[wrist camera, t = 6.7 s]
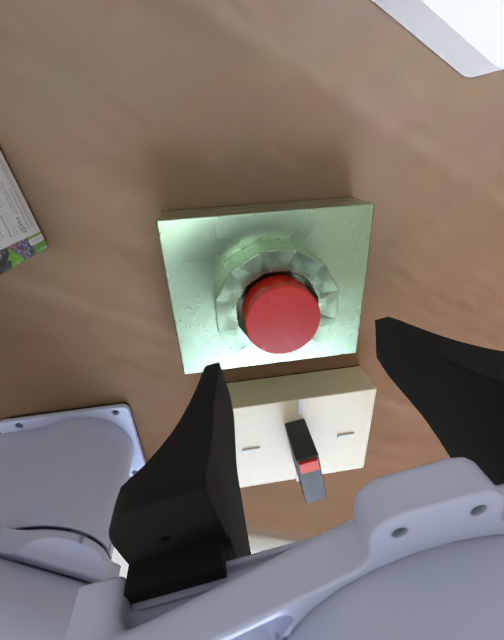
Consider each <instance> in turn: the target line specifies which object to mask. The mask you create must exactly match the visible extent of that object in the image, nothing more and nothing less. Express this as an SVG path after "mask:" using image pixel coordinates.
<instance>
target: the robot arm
mask: <svg viewBox="0 0 504 640" xmlns="http://www.w3.org/2000/svg"><path fill="white" fill-rule="evenodd" d="M375 326H376V353H377V358H378V360H379V362H380V363H381V365H382V367H383V368H384V370H385V371H386V373H387V374H388V376H389V377H390V378H391V379H392V380H393V382H394V383H395V384H396V385H397V386H398V387H399V389H400V390H401V391H402V392H403V393H404V394H405V396H406V397H407V398H408V399H409V400H410V401H411V403H412V404H413V405H414V406H415V407H416V408H417V410H418V411H419V412H420V413H421V415H422V416H423V417H424V418H425V420H426V421H427V423H428V424H429V426H430V427H431V428H432V430H433V431H434V433H435V434H436V436H437V437H438V439H439V440H440V442H441V443H442V445H443V446H444V448H445V450H446V451H447V453H448V454H449V456H450V457H451V458H447V459H443V460H439V461H436V462H432V463H429V464H425V465H422V466H418V467H414V468H411V469H407V470H404V471H400V472H396V473H393V474H389V475H386V476H382V477H379V478H377V479H375V480H373V481H371V482H368V483H367V484H366V485H365V486H364V487H362V488H361V489H360V490H359V491H358V492H357V494H356V498H355V501H354V504H353V507H354V518H352V519H350V520H348V521H346V522H344V523H342V524H340V525H338V526H336V527H334V528H332V529H330V530H328V531H326V532H324V533H322V534H320V535H318V536H315V537H311V538H308V539H304V540H301V541H297V542H294V543H290V544H287V545H283V546H280V547H276V548H272V549H269V550H265V551H262V552H258V553H255V554H251V552H250V546H249V540H248V535H247V529H246V523H245V517H244V511H243V505H242V499H241V492H240V486H239V479H238V473H237V463H236V444H235V424H234V413H233V407H232V402H231V396H230V393H229V390H228V387H227V384H226V381H225V378H224V375H223V372H222V369H221V366H220V363H219V362H217V363H214V364H210V365H206V366H205V368H204V370H203V373H202V376H201V378H200V381H199V383H198V386H197V388H196V390H195V393H194V395H193V397H192V399H191V401H190V403H189V405H188V407H187V409H186V411H185V413H184V414H183V416H182V418H181V419H180V421H179V423H178V424H177V426H176V427H175V429H174V430H173V432H172V433H171V435H170V436H169V437H168V438H167V440H166V441H165V442H164V444H163V445H162V446H161V447H160V449H159V450H158V451H157V452H156V453H155V454H154V455H153V456H152V458H151V459H150V460H149V461H148V462H147V463H146V461H145V458H144V455H143V451H142V448H141V445H140V441H139V438H138V435H137V431H136V428H135V424H134V421H133V418H132V414H131V411H130V408H129V406H128V405H126V404H116V405H109V406H101V407H94V408H86V409H78V410H71V411H63V412H56V413H48V414H41V415H33V416H26V417H18V418H10V419H4V420H2V421H0V432H1V436H0V640H504V351H498V350H492V349H488V348H483V347H479V346H474V345H470V344H466V343H463V342H459V341H456V340H452V339H449V338H446V337H443V336H440V335H437V334H434V333H431V332H428V331H426V330H423V329H420V328H418V327H415V326H413V325H410V324H407V323H405V322H402V321H399V320H397V319H394V318H391V317H386V318H382V319H378V320H375ZM114 410H117V411H118V412H115V411H114ZM19 423H21V424H19ZM135 470H136V471H135ZM129 477H131V478H130V479H129ZM128 479H129V480H128ZM114 547H115V548H116V549H117V550H118V552H119V553H120V554H121V556H122V557H123V558H124V559H125V560H126V562H127V563H128V564H129V568H128V573H127V579H126V578H124V577H119V572H120V567H121V566H120V565H118V564H116V563H114V562H112V561H111V558H112V553H113V548H114Z"/></svg>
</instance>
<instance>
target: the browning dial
mask: <svg viewBox="0 0 504 640" xmlns="http://www.w3.org/2000/svg"><path fill="white" fill-rule="evenodd" d="M285 429H286V433H287V437H288V441H289V445H290V449H291V453H292V457H293V461H294V465H295V468H296V472H297V475H298V478H299V482H300V485H301V488H302V492H303V495H304V498H305V501H306V503H310V502H313V501H317V500H320V499H324V498H326V492H325V487H324V481H323V476H322V471H321V465H320V460H319V455H318V452H317V449H316V447H315V444H314V442H313V439H312V437H311V434H310V432H309V429H308V427H307V424H306V421H305V419H300V420H297V421H293V422H290V423H286V424H285Z"/></svg>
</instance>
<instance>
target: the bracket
mask: <svg viewBox="0 0 504 640" xmlns="http://www.w3.org/2000/svg"><path fill="white" fill-rule="evenodd" d="M372 1H373V2H375V3H376V4H377V5H378V6H379V7H381V8H382V9H383V10H384V11H385V12H387V13H388V14H389V15H390V16H391V17H393V18H394V19H395V20H396V21H397V22H399V23H400V24H401V25H402V26H403V27H405V28H406V29H407V30H408V31H410V32H411V33H412V34H413V35H414V36H416V37H417V38H418V39H419V40H420V41H422V42H423V43H424V44H425V45H426V46H428V47H429V48H430V49H431V50H432V51H434V52H435V53H436V54H437V55H438V56H440V57H441V58H442V59H443V60H444V61H446V62H447V63H448V64H449V65H450V66H452V67H453V68H454V69H455V70H456V71H458V72H459V73H460V74H461V75H463V76H465V77H476V76H480V75H483V74H487V73H491V72H495V71H498V70H502V69H504V0H372Z"/></svg>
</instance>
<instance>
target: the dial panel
mask: <svg viewBox="0 0 504 640" xmlns="http://www.w3.org/2000/svg"><path fill="white" fill-rule="evenodd" d="M226 384H227V387H228V390H229V393H230V396H231V402H232V407H233V413H234V424H235V444H236V463H237V473H238V479H239V486H240V488H241V487H248V486H254V485H260V484H266V483H272V482H278V481H284V480H290V479H296V481H299V478H298V475H297V472H296V468H295V465H294V461H293V457H292V453H291V449H290V445H289V441H288V437H287V433H286V429H285V424H286V423H290V422H293V421H297V420H300V419H305V421H306V424H307V427H308V429H309V432H310V434H311V437H312V439H313V442H314V444H315V447H316V449H317V452H318V455H319V460H320V465H321V471H322V474H326V473H333V472H339V471H345V470H351V469H357V468H363V466H364V460H365V455H366V449H367V443H368V437H369V431H370V425H371V419H372V413H373V407H374V401H375V395H376V387H375V386H374V384H373V383H372V382H371V380H370V379H369V378H368V376H367V375H366V374H365V372H364V371H363V370H362V368H361V367H360V366H356V367H348V368H341V369H333V370H325V371H318V372H310V373H302V374H295V375H287V376H279V377H272V378H264V379H256V380H249V381H241V382H233V383H226Z"/></svg>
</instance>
